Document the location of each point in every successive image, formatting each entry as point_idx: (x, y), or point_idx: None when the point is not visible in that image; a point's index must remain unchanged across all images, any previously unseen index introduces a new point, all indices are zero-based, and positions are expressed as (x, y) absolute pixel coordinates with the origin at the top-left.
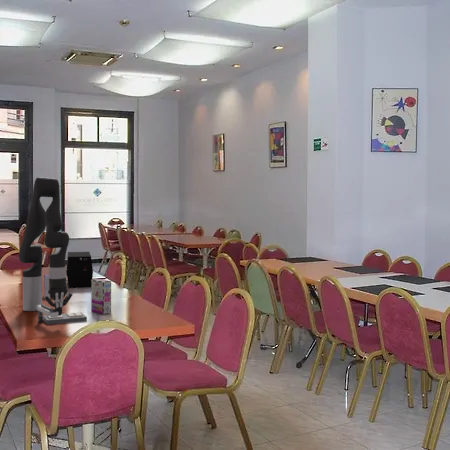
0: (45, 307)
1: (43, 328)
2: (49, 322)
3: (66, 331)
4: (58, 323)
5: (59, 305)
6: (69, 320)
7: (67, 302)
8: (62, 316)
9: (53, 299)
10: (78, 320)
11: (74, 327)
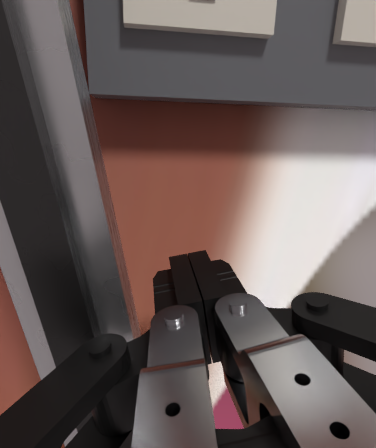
0: (8, 205)
1: None
2: (117, 98)
3: None
4: (200, 102)
5: (225, 376)
6: (303, 105)
7: (372, 391)
8: (271, 26)
9: (139, 425)
10: (372, 109)
11: (272, 287)
